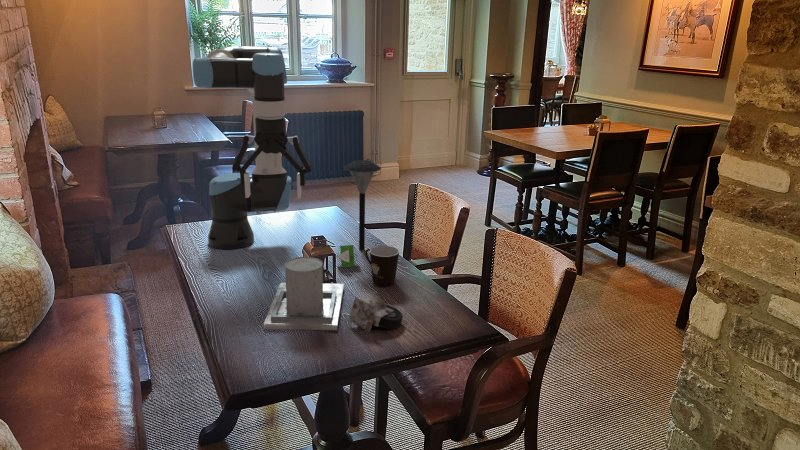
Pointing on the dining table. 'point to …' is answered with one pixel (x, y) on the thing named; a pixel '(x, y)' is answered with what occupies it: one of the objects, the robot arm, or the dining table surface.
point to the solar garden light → (362, 190)
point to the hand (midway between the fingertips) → (273, 197)
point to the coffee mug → (383, 265)
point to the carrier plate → (320, 321)
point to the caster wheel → (374, 314)
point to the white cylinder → (304, 285)
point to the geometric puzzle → (347, 256)
